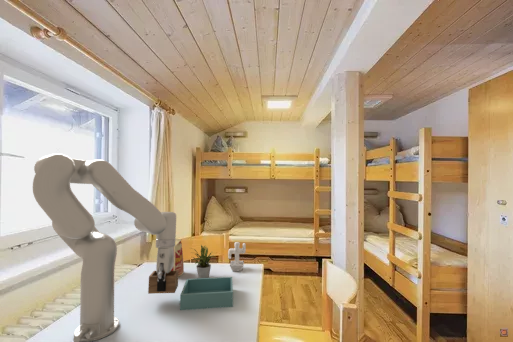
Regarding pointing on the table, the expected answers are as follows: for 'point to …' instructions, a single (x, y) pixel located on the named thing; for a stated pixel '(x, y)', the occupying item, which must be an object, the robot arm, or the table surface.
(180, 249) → the milk carton
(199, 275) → the house plant
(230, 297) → the teal crate
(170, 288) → the walnut crate
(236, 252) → the figurine
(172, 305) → the table surface
